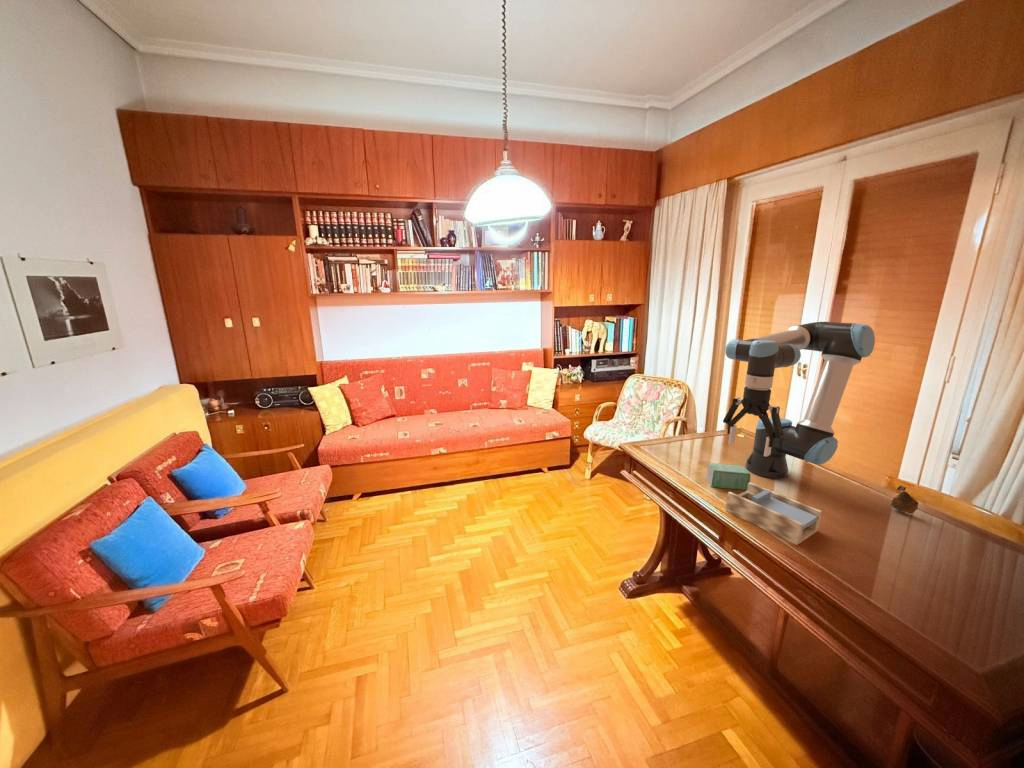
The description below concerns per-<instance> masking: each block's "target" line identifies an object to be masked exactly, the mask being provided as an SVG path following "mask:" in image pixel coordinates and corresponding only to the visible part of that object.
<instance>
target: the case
mask: <svg viewBox="0 0 1024 768" xmlns="http://www.w3.org/2000/svg"><path fill="white" fill-rule="evenodd" d="M764 490H769V491H771V497H772V498H775V499H777V500H780V501H782V502H784V503H787V504H789V505H792V506H794V507H796V508H799V509H801V510H804V511H806V512H809V513H811V514H813V515H816V516H818V517H817V521H815V522H814V523H812V524H811V525H809V526H808V527H806V528H805V529H803V530H802V525H803V523H800V522H798V521H796V520H794V519H791V518H789V517H787V516H784V515H782V514H780V513H778V512H775V511H773V510H771V509H769V508H766V507H764V506H762V505H759V504H757V503H755V502H753V501H752V497H753V496H754V495H756V494H758V493H760V492H762V491H764ZM725 511H726V512H727V513H729V514H731V515H734V516H736V517H737V518H740V519H742V520H744V521H746V522H748V523H750V524H752V525H754V526H757V527H758V528H761V529H762V530H764V531H767V532H768V533H771V534H773V535H775V536H777V537H778V538H781V539H783V540H784V541H785V540H786V541H787V542H789V543H791V544H793V545H796V546H798V545H799V544H801V543H802V542H804V541H805V540H806V539H808V538H809V537H811V536H812V535H814V534H815V533H817V532H818V531H819V527H820V522H821V518H822V517H821V516H822V512H823V510H820V509H818V508H815V507H813V506H810V505H808V504H805V503H802V502H800V501H798V500H795V499H792V498H790V497H787V496H786V495H782V494H780V493H778V492H776V491H774V490H773V491H772V490H770V489H768V488H765V487H762V486H760V485H758V484H755V483H752V482H751V481H750V482H749V483H748V486H747V490H744V491H743V492H741V493H739V494H736V493H734V492H731V491H728V492H727V496H726V505H725ZM801 530H802V531H801Z"/></svg>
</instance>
